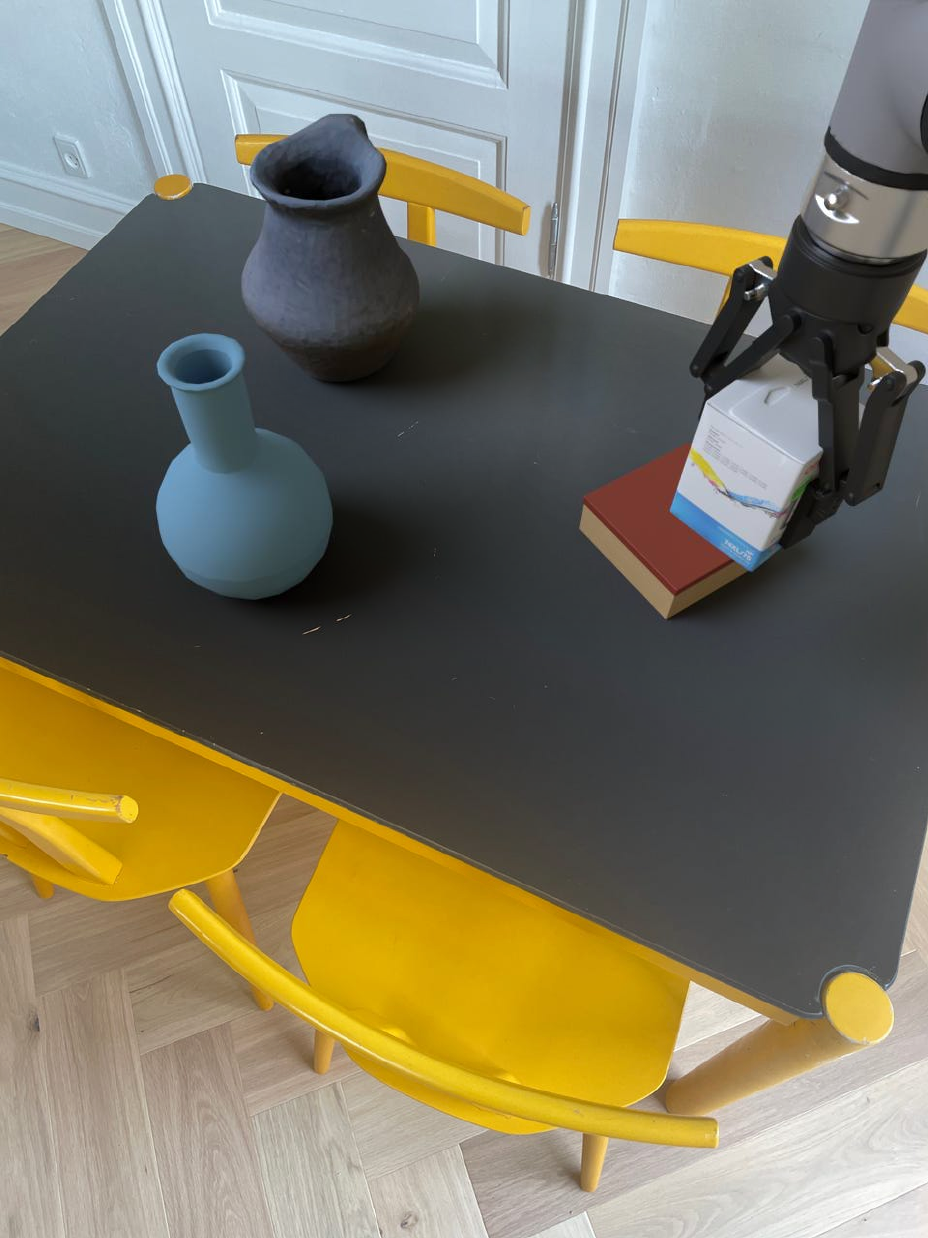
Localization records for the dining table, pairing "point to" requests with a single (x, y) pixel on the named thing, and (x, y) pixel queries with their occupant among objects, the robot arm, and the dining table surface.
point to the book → (655, 537)
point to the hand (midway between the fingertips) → (748, 498)
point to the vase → (236, 482)
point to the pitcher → (328, 253)
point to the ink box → (751, 461)
